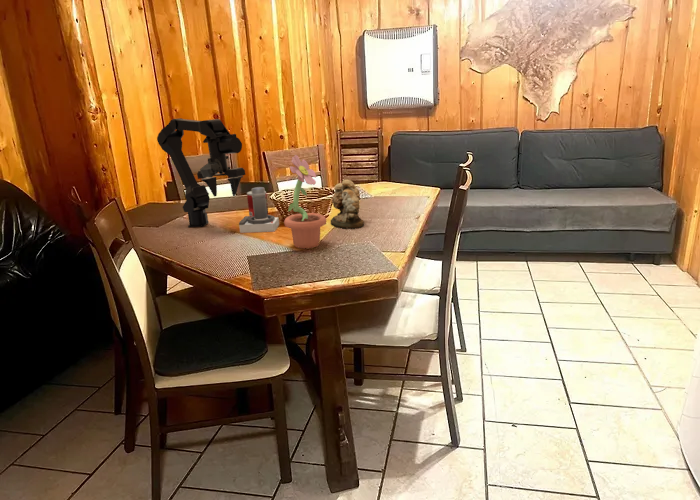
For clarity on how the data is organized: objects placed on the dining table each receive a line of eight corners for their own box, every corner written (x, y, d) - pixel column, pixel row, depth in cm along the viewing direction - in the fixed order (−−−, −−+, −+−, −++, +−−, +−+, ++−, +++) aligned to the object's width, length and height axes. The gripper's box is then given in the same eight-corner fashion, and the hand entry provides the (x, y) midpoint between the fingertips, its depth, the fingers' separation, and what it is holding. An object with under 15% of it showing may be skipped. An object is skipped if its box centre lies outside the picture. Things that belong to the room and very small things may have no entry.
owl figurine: (323, 221, 198) (320, 178, 193) (349, 217, 202) (347, 175, 197) (342, 231, 182) (340, 184, 177) (371, 226, 187) (369, 181, 182)
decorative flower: (316, 254, 157) (309, 158, 148) (277, 251, 162) (268, 158, 153) (334, 240, 170) (328, 152, 161) (297, 238, 175) (290, 152, 166)
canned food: (265, 220, 203) (262, 193, 200) (246, 220, 205) (243, 194, 201) (271, 216, 210) (269, 190, 207) (253, 216, 212) (250, 190, 209)
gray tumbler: (256, 223, 187) (253, 190, 183) (253, 220, 191) (249, 188, 187) (269, 221, 189) (266, 188, 185) (265, 218, 193) (262, 186, 189)
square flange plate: (240, 232, 187) (238, 221, 185) (246, 225, 196) (245, 215, 195) (274, 231, 186) (273, 220, 185) (279, 224, 195) (278, 214, 194)
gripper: (183, 158, 182) (191, 200, 186) (222, 155, 173) (230, 200, 178) (204, 154, 191) (211, 194, 196) (242, 152, 183) (249, 194, 187)
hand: (224, 196), depth 189 cm, fingers open, 9 cm apart
